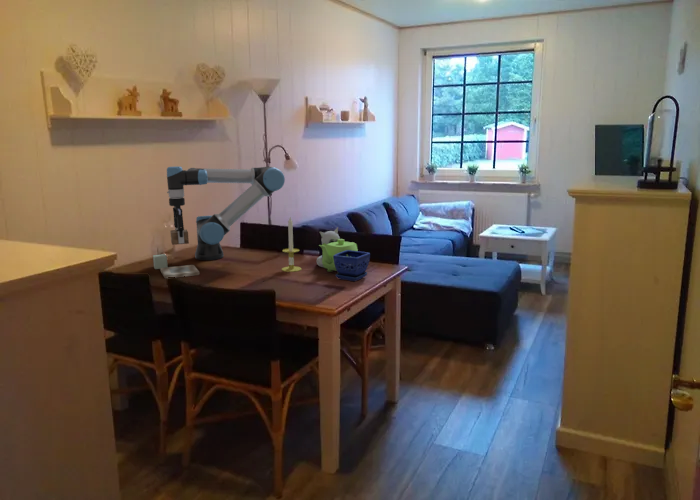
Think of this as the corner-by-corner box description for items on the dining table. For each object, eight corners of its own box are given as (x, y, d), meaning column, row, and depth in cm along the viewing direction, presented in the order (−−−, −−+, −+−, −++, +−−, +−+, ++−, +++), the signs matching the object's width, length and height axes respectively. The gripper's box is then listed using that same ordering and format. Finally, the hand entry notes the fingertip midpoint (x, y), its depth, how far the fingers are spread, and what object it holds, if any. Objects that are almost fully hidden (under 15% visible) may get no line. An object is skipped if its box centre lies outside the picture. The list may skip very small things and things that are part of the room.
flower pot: (357, 283, 252) (357, 257, 250) (332, 279, 258) (332, 254, 256) (370, 277, 263) (371, 252, 261) (346, 273, 270) (346, 249, 267)
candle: (305, 268, 280) (304, 215, 275) (295, 272, 272) (293, 218, 266) (288, 266, 285) (286, 214, 279) (277, 270, 276) (276, 216, 270)
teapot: (338, 262, 292) (337, 232, 288) (367, 269, 277) (368, 238, 273) (301, 270, 275) (300, 239, 271) (331, 279, 260) (330, 246, 256)
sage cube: (166, 265, 286) (165, 254, 285) (167, 268, 281) (166, 256, 280) (153, 266, 284) (153, 255, 283) (155, 269, 279) (154, 257, 277)
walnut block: (187, 240, 289) (186, 229, 288) (188, 243, 282) (187, 231, 281) (171, 241, 287) (170, 230, 285) (172, 244, 279) (171, 233, 278)
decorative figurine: (321, 270, 276) (321, 230, 272) (312, 263, 290) (312, 225, 285) (349, 267, 282) (349, 228, 277) (339, 261, 295) (339, 224, 291)
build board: (193, 267, 282) (193, 264, 281) (199, 274, 268) (199, 271, 267) (160, 270, 275) (160, 267, 275) (164, 278, 261) (164, 275, 261)
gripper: (166, 195, 287) (169, 238, 292) (171, 200, 269) (175, 246, 273) (181, 195, 290) (184, 237, 295) (187, 199, 272) (191, 244, 277)
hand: (180, 241), depth 284 cm, fingers closed on walnut block, 8 cm apart
